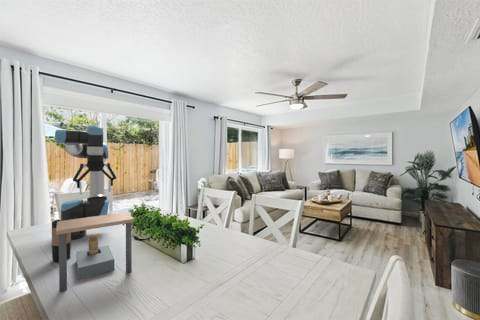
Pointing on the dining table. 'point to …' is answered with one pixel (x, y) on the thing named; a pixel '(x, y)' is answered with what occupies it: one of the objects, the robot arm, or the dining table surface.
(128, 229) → the wooden side table
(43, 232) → the dining table surface
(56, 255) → the travel mug
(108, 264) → the socket board
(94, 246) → the oak peg
